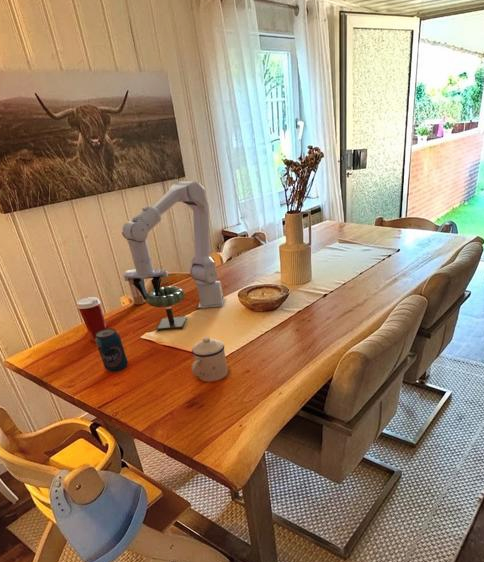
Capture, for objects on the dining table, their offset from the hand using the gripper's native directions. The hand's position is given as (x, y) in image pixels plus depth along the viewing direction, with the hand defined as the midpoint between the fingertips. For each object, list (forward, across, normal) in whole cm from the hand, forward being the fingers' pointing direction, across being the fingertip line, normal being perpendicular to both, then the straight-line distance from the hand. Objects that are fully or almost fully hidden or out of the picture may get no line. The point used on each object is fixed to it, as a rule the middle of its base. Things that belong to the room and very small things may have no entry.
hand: (152, 298), depth 151 cm
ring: (0, +5, 0) cm, 5 cm away
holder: (+10, +5, 0) cm, 11 cm away
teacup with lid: (+11, +23, -40) cm, 47 cm away
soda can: (+11, -7, -30) cm, 32 cm away
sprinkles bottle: (+11, -14, +26) cm, 31 cm away
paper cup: (+11, -20, -7) cm, 23 cm away
